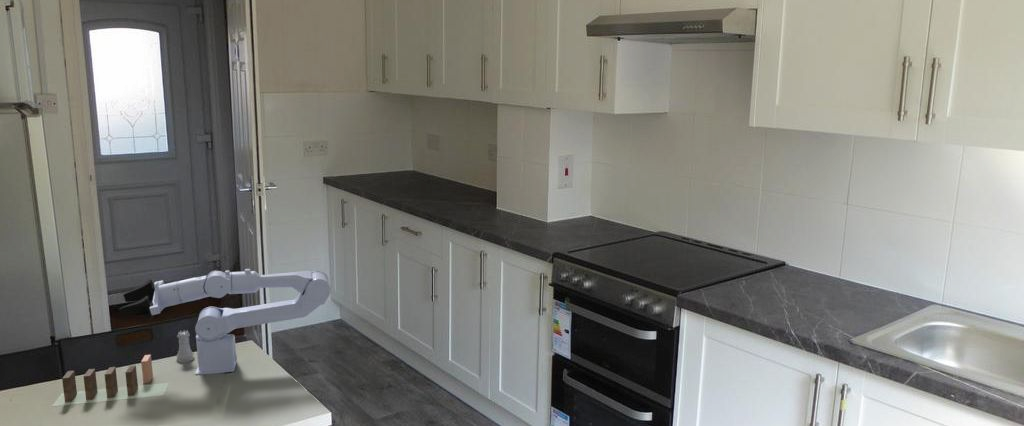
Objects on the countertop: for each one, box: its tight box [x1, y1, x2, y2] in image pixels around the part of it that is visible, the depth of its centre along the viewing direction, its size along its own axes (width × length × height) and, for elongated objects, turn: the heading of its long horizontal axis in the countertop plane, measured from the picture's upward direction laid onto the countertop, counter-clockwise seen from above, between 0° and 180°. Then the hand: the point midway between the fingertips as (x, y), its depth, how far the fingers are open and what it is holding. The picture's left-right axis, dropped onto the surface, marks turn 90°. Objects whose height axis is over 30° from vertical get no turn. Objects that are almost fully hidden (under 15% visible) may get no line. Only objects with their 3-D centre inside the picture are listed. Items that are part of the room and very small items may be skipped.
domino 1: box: [61, 370, 77, 402], centre depth 180 cm, size 1×4×6 cm, turn 14°
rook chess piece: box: [176, 330, 195, 363], centre depth 204 cm, size 4×4×8 cm
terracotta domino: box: [140, 354, 154, 384], centre depth 191 cm, size 1×4×6 cm, turn 15°
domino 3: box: [104, 366, 119, 398], centre depth 182 cm, size 1×4×6 cm, turn 14°
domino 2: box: [83, 368, 98, 400], centre depth 181 cm, size 1×4×6 cm, turn 15°
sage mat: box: [51, 382, 170, 407], centre depth 183 cm, size 24×8×1 cm, turn 105°
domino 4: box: [124, 364, 139, 396], centre depth 183 cm, size 1×4×6 cm, turn 15°
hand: (122, 305), depth 190 cm, fingers open, 7 cm apart
